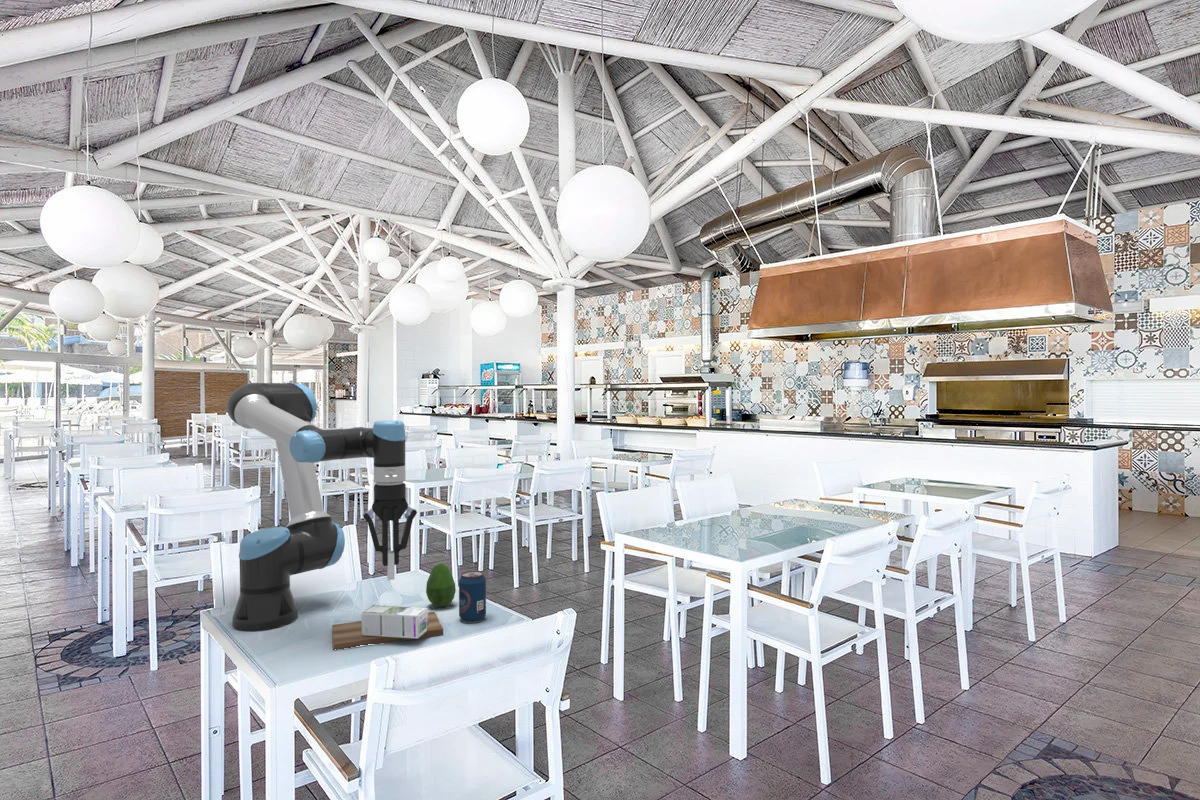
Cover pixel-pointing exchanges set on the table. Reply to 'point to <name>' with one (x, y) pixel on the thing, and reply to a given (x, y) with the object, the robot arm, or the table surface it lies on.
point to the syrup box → (395, 621)
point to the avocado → (440, 586)
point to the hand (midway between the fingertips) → (390, 578)
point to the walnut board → (352, 636)
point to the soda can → (472, 596)
